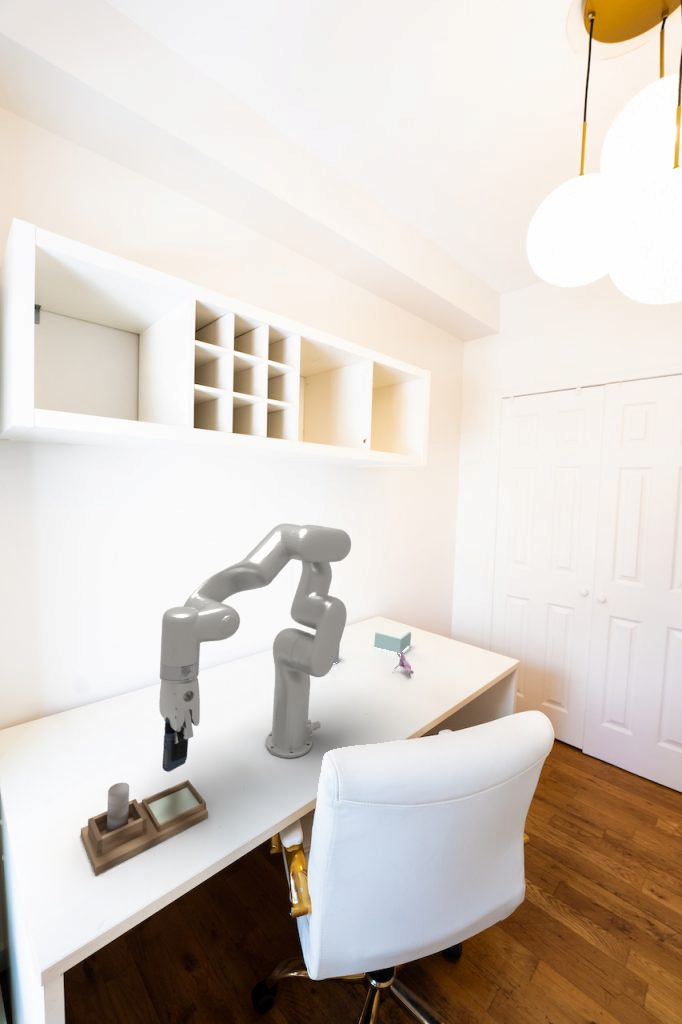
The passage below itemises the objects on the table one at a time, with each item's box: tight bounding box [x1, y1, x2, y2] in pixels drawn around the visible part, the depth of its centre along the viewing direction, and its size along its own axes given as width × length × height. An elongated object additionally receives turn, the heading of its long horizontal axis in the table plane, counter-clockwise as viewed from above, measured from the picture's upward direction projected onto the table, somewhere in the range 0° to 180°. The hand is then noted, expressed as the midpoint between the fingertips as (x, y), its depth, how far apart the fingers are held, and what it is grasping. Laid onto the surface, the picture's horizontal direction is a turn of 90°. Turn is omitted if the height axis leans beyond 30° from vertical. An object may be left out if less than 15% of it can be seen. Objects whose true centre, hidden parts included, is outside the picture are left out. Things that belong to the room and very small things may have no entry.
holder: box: [80, 779, 209, 876], centre depth 87 cm, size 21×11×10 cm, turn 133°
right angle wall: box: [373, 631, 412, 653], centre depth 191 cm, size 12×12×8 cm
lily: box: [394, 645, 412, 674], centre depth 166 cm, size 12×12×10 cm
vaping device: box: [162, 717, 189, 773], centre depth 90 cm, size 3×5×12 cm, turn 143°
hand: (175, 753), depth 90 cm, fingers closed on vaping device, 2 cm apart
